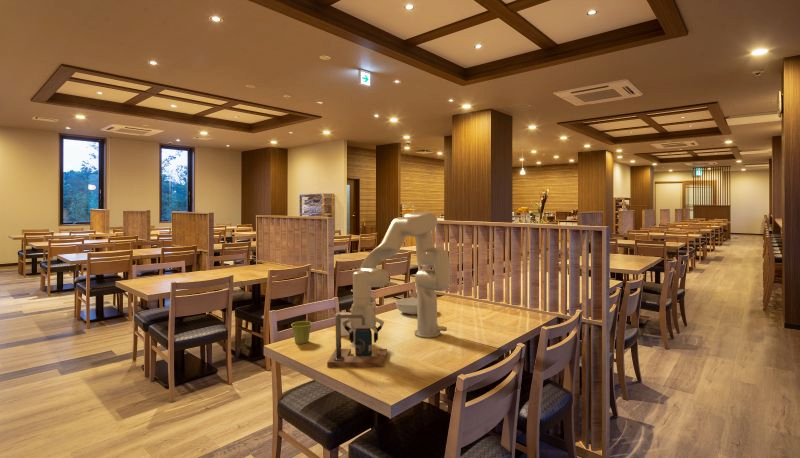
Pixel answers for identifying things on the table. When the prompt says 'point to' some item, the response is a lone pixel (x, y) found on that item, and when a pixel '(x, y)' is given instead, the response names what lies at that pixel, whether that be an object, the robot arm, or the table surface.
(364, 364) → the u-shaped wooden block
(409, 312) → the serving bowl
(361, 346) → the soda can
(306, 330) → the plant pot
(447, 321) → the table surface
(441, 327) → the robot arm
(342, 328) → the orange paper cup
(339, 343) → the knobbed metal rod
